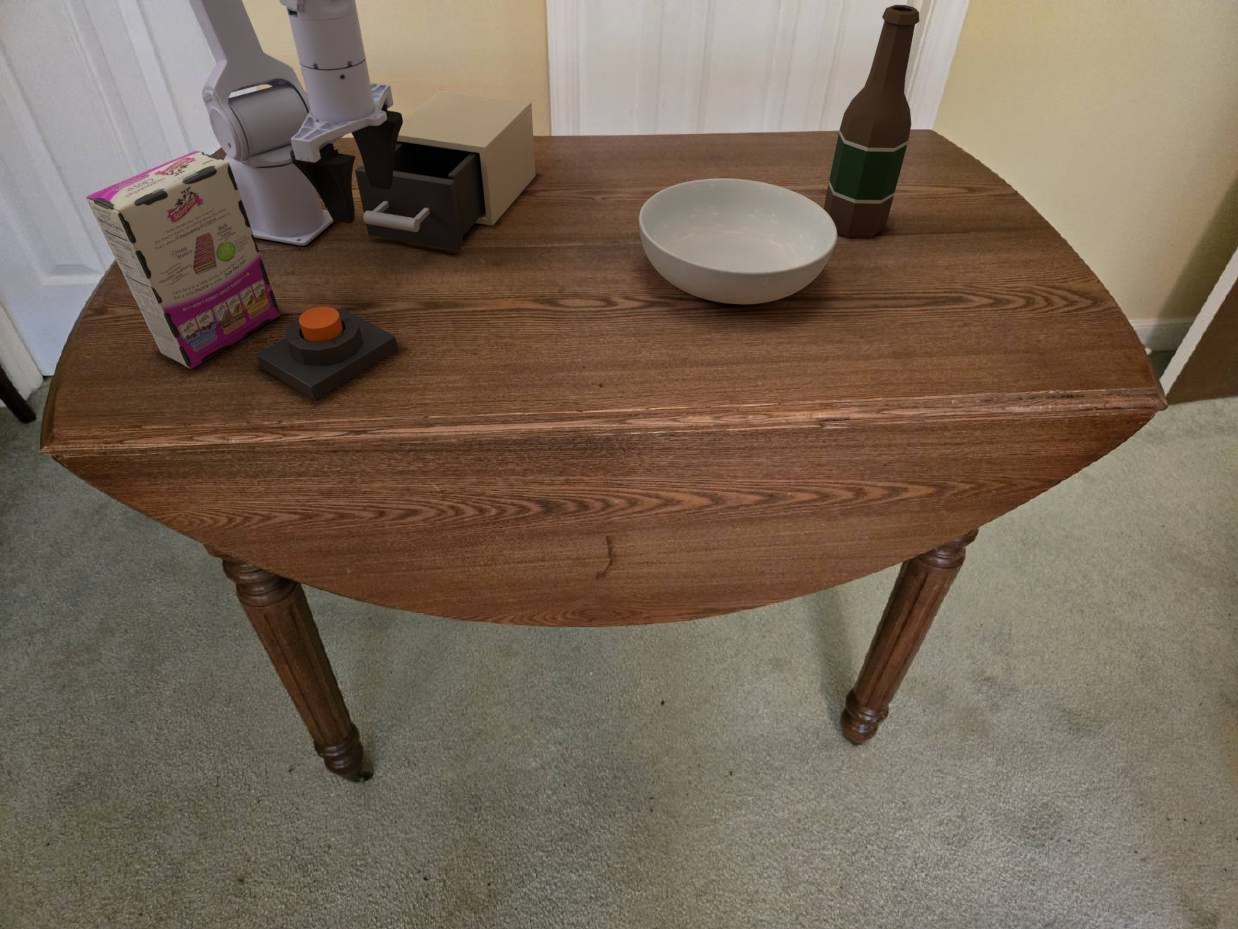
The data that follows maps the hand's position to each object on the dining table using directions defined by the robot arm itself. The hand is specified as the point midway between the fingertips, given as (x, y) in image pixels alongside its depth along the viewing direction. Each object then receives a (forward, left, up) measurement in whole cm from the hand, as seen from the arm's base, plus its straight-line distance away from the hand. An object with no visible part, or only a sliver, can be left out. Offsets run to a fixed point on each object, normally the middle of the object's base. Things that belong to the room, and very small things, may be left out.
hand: (363, 203), depth 82 cm
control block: (+2, -14, -9) cm, 17 cm away
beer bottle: (+48, +30, -10) cm, 58 cm away
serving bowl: (+36, +13, -10) cm, 40 cm away
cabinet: (0, +23, -9) cm, 25 cm away
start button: (+2, -14, -6) cm, 15 cm away
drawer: (0, +13, -8) cm, 15 cm away
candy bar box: (-10, -13, -10) cm, 19 cm away
